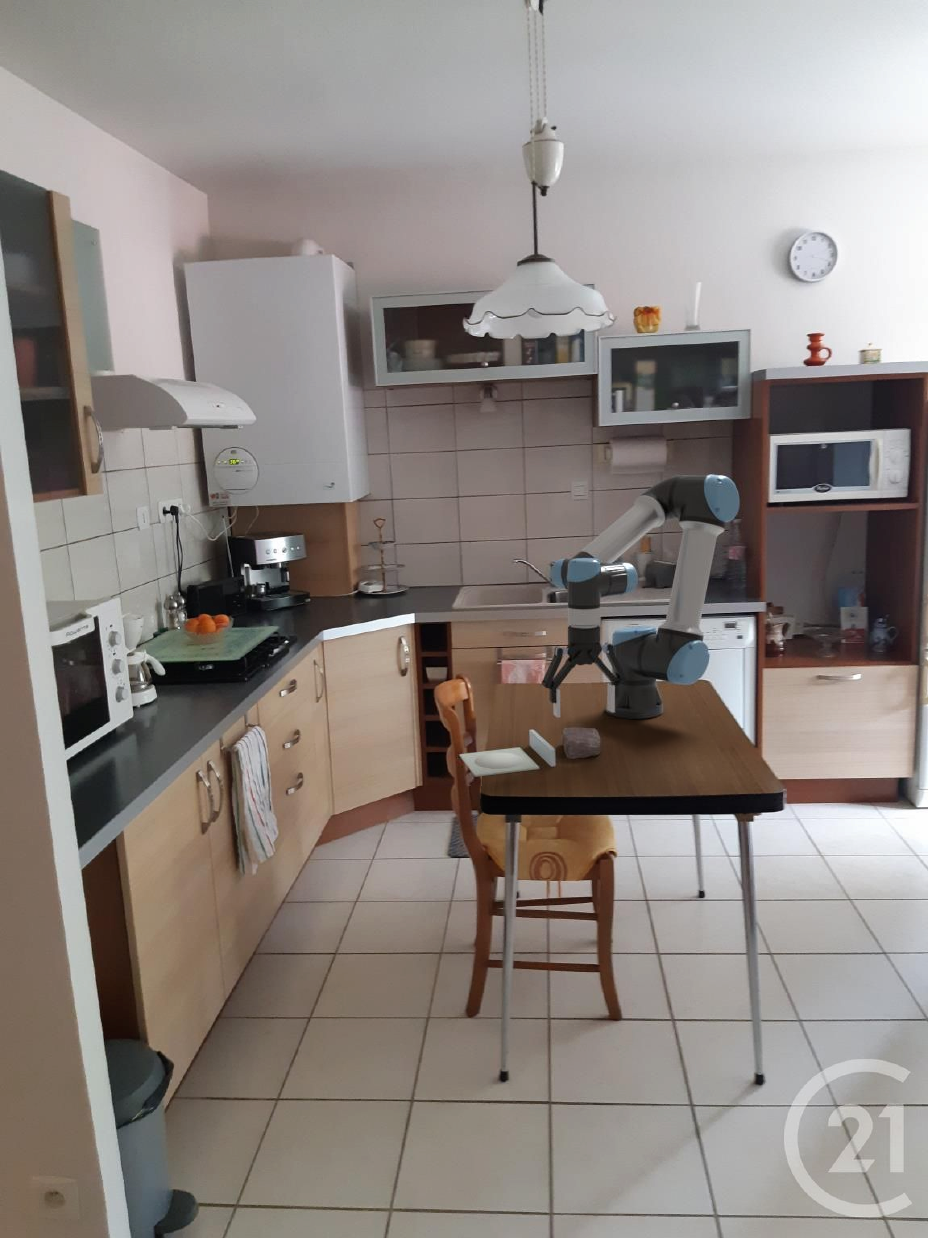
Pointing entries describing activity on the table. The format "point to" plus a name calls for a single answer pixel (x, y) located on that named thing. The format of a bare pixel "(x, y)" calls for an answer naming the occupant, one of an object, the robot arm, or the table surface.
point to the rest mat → (498, 761)
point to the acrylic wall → (542, 747)
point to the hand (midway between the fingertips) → (584, 713)
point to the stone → (581, 742)
